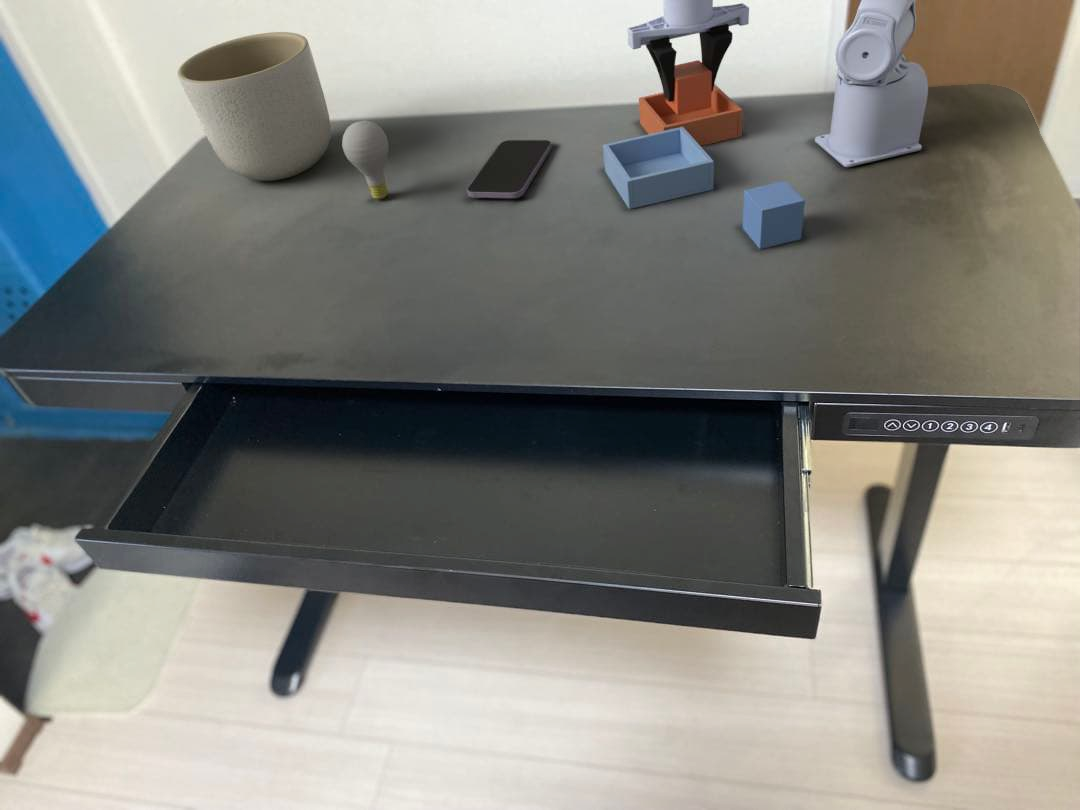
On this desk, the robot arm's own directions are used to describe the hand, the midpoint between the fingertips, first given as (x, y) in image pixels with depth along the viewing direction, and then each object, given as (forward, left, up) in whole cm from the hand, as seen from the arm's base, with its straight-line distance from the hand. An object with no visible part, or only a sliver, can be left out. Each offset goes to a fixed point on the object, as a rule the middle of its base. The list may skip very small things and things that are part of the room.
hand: (688, 94), depth 100 cm
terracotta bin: (0, 0, -5) cm, 5 cm away
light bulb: (+41, 0, -5) cm, 41 cm away
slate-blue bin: (+8, +11, -5) cm, 14 cm away
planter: (+54, -17, -5) cm, 57 cm away
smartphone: (+24, +1, -5) cm, 25 cm away
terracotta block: (0, 0, -1) cm, 1 cm away
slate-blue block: (+1, +28, -5) cm, 28 cm away
